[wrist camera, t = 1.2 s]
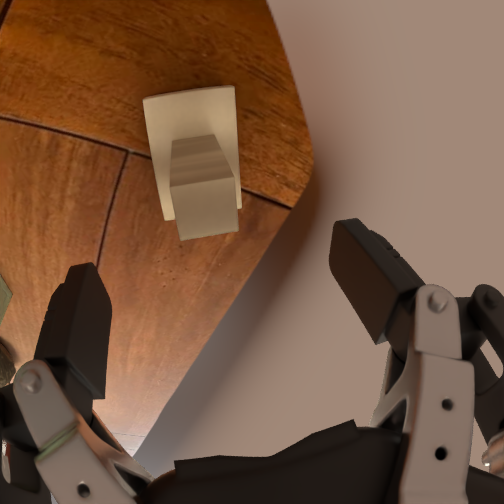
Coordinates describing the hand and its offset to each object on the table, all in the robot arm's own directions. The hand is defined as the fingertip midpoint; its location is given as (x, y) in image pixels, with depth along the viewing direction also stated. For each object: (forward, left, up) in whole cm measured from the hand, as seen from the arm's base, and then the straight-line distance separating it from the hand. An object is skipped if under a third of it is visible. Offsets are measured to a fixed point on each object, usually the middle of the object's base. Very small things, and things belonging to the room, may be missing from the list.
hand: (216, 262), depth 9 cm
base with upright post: (0, 0, -14) cm, 14 cm away
